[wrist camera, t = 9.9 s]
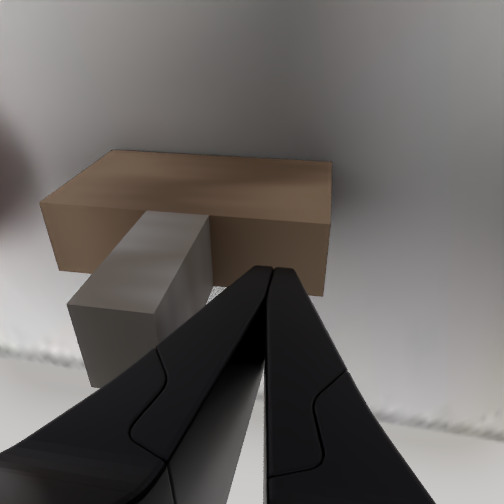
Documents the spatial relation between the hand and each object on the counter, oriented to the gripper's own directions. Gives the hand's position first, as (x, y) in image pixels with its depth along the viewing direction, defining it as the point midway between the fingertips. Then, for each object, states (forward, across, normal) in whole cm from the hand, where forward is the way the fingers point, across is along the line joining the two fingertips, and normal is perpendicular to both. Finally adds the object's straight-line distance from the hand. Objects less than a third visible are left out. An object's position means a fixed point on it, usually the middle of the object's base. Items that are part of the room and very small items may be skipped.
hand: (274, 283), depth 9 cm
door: (+5, +2, 0) cm, 6 cm away
